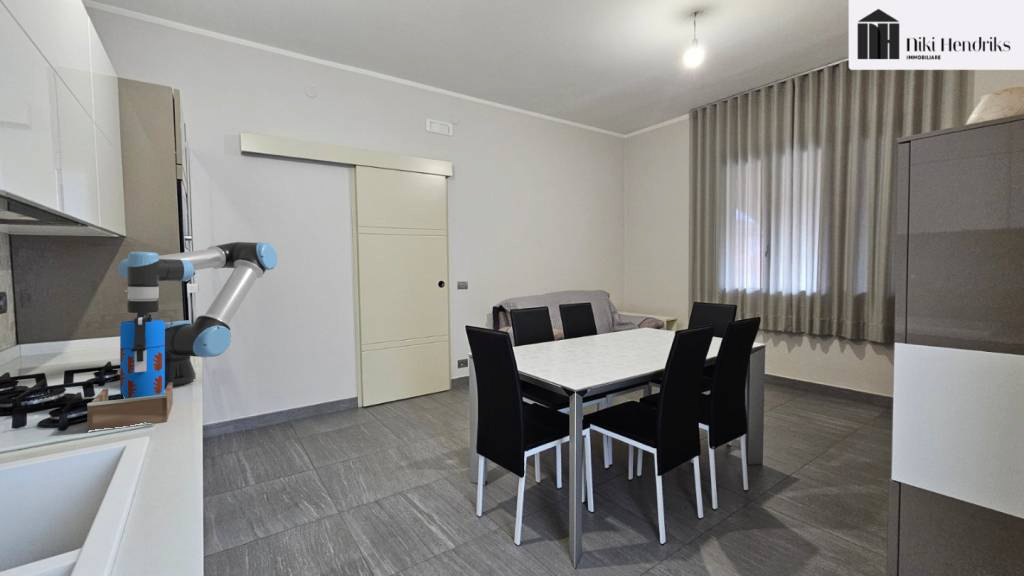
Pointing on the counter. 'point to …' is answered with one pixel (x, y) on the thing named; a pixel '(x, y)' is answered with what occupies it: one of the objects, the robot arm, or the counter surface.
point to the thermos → (154, 375)
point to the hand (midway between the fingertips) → (143, 367)
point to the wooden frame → (128, 410)
